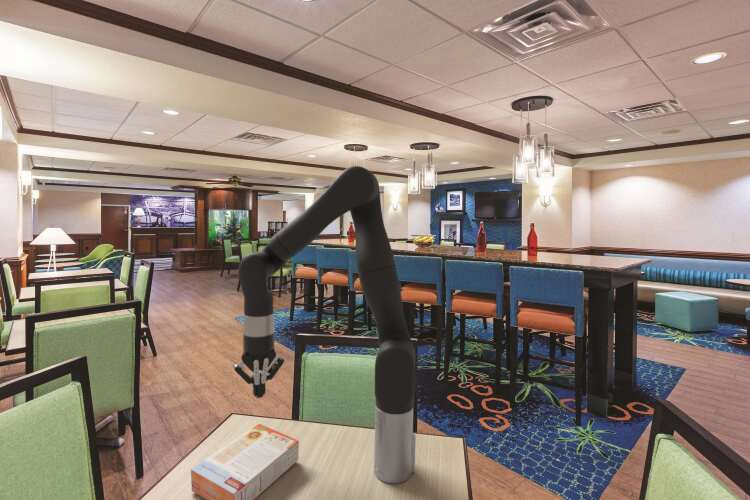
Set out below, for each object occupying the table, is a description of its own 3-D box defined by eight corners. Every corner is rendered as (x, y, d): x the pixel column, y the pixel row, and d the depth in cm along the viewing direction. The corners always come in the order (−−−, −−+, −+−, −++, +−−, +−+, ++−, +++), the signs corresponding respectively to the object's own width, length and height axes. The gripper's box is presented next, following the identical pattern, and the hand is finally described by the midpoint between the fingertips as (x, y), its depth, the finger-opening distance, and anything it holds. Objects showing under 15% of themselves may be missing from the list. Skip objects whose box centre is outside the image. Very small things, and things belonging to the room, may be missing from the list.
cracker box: (259, 442, 105) (189, 492, 87) (259, 422, 104) (189, 467, 86) (299, 461, 99) (233, 519, 80) (299, 440, 98) (233, 493, 80)
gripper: (234, 339, 91) (235, 409, 93) (289, 331, 98) (289, 397, 100) (228, 330, 97) (229, 396, 99) (280, 323, 104) (279, 385, 106)
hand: (259, 396), depth 99 cm, fingers closed
